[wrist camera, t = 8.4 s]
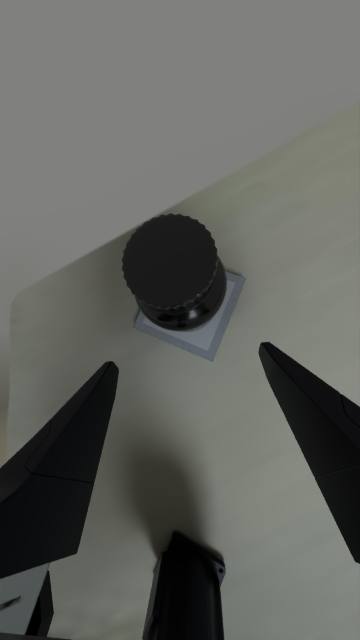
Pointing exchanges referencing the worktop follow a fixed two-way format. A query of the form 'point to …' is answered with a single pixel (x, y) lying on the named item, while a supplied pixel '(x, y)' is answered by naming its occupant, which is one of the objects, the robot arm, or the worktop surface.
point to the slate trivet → (208, 336)
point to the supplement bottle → (175, 272)
